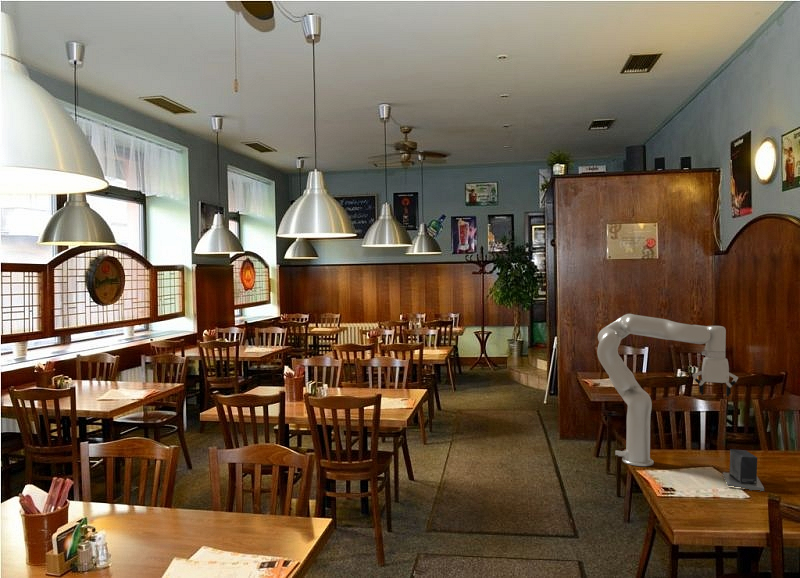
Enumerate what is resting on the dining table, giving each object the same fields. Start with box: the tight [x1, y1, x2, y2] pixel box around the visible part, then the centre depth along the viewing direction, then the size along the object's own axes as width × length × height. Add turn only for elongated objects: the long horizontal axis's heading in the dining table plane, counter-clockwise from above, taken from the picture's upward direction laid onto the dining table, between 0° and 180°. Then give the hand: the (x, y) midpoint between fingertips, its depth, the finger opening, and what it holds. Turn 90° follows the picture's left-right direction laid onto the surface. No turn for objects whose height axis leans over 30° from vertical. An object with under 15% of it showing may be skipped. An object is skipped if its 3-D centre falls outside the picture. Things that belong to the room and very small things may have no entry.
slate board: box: [722, 471, 765, 492], centre depth 237 cm, size 12×15×2 cm
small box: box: [728, 448, 758, 484], centre depth 237 cm, size 11×6×10 cm, turn 173°
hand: (714, 395), depth 258 cm, fingers open, 9 cm apart
